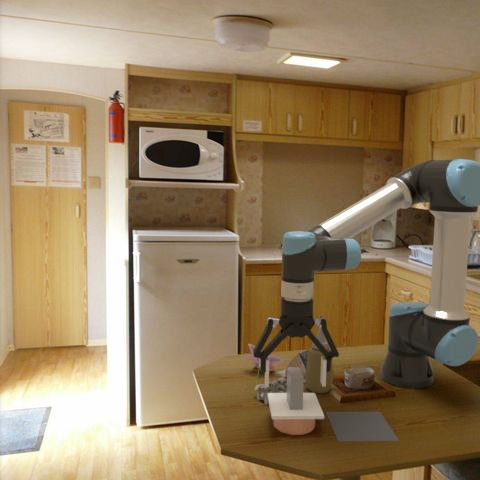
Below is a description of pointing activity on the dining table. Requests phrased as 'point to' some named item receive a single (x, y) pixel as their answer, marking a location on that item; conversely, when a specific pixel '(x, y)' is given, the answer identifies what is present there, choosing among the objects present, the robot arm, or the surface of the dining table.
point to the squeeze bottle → (317, 367)
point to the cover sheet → (294, 414)
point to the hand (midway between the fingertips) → (294, 384)
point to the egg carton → (273, 385)
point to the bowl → (294, 426)
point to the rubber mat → (360, 426)
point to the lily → (257, 360)
